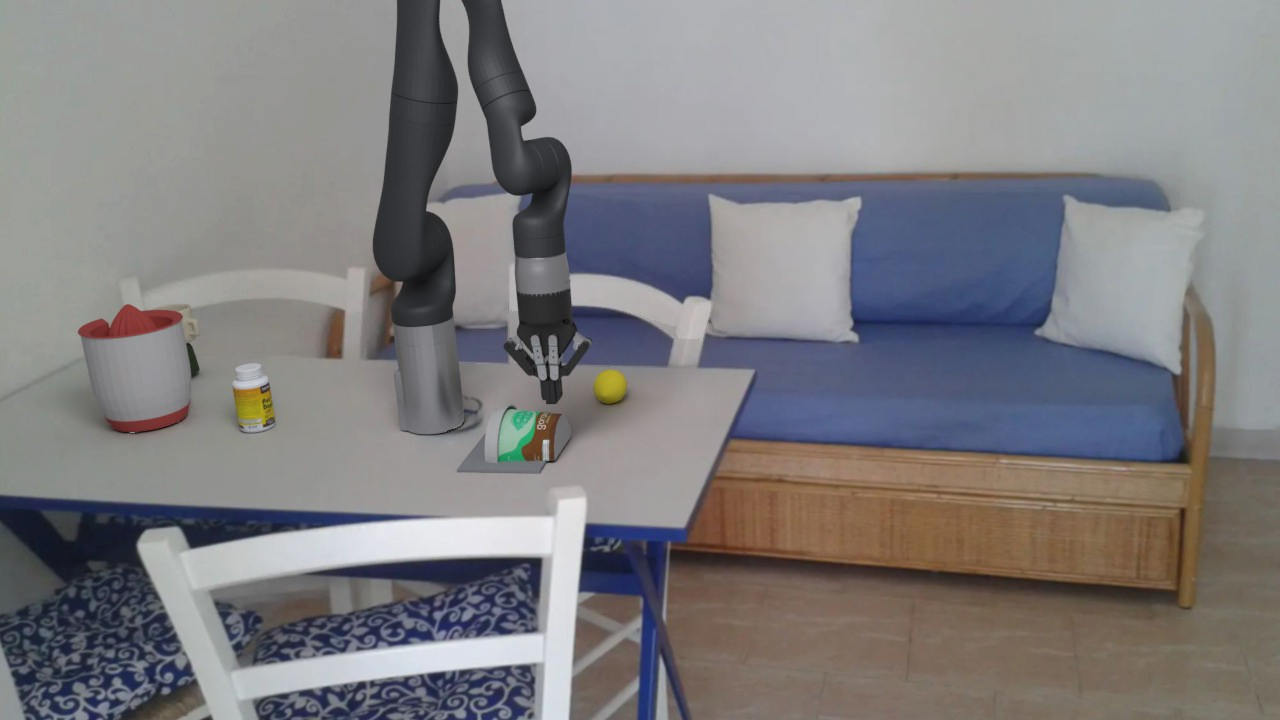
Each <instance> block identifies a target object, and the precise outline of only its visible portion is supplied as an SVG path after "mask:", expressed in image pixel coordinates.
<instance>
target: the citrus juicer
mask: <svg viewBox="0 0 1280 720" xmlns="http://www.w3.org/2000/svg"><path fill="white" fill-rule="evenodd" d="M182 319H183V316H182V314H181V313H179V312H176V311H171V310H152V309H148V310H146V309H145V310H140V309H138V308H137V307H135V306H133V304H129V303H126V304H125V305H123V306H122V307H121V309H120V310H119V311H118V312H117V314H116V315H115V317H114V318H113V320H112V322H111V324H109V322H108V321H107V320H105V319H103V318H98V319H95V320H93V321H90V322H87V323H85V324H83V325H82V326H81V327H79V329H78V331H77V334H78V335H79V336H80V339H81V344H82V348H83V349H82V350H83V354H84V357H85V358H84V359H85V363H86V368H87V373H88V376H89V381H90V386H91V389H92V392H93V395H94V396H95V397H94V398H95V399H96V401H97V403H98V407H99V408H100V409H101V411H102V413H103V415H104V418H105V419H106V421H107V423H108V424H109V425H110V426H111V428H112V429H113V430H116V431H118V432H122V433H124V432H126V433H129V432H138V433H140V432H139V431H141V432H147V431H154V430H157V429H161V428H164V427H168V426H171V425H173V424H177V423H176V422H178V421H180V422H181V420H182V421H183V420H184V419H185V418H186V417H187V415H188V412H189V410H190V405H191V394H192V376H191V369H190V362H189V357H188V351H187V346H186V340H185V335H184V330H183V324H182ZM178 423H179V422H178Z"/></svg>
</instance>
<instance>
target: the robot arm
mask: <svg viewBox="0 0 1280 720" xmlns="http://www.w3.org/2000/svg"><path fill="white" fill-rule="evenodd" d="M460 1H461V3H462V5H463V7H464V8H465V12H466V16H467V21H468V43H467V44H468V46H467V70H468V76H469V80H470V83H471V86H472V89H473V90H474V93H475V96H476V98H477V101H478V103H479V105H480V106H479V107H480V108H481V111H482V114H483V116H484V118H485V122H486V127H487V129H486V130H487V137H488V142H489V149H490V150H489V151H490V160H491V167H492V171H493V175H494V177H495V179H496V182H497V183H498V184H499V185H500V187H501V188H502V189H503V190H504V191H505V192H506V193H509V195H512V196H514V197H515V196H526V195H527V196H528V195H531V194H532V195H531V198H530V199H531V200H530V203H529V204H528V205H527V207H525V208H524V209H522V210H521V211H519V212H518V213H516V214H514V216H513V219H512V225H511V226H512V238H513V240H512V241H513V251H514V279H515V280H514V281H515V282H514V283H515V290H516V291H515V292H516V302H517V304H516V305H517V313H518V326H517V328H516V334H515V335H513V336H512V337H510V338H508V339H507V340H506V342H504V343H503V345H502V346H503V347H502V348H503V349H504V350H505V352H506V353H508V355H509V356H510V357H511V358H512V360H513V361H515V363H516V364H517V365H518V366H519V367H520V368H521V370H522V371H523V372H524V373H525V374H526V375H527V376H529V377H532V376H533V377H536V378H538V381H539V386H540V395H541V400H542V401H545V404H546V405H558V403H559V401H561V400H562V397H563V394H564V393H563V380H562V378H563V377H568V376H570V375H571V373H572V372H573V371H574V369H575V368H576V366H578V364H579V362H580V361H581V360H582V359H583V357H584V356H585V354H586V353H587V352H588V350H589V349H590V347H591V346H592V344H593V339H592V338H591V337H585V336H583V335H582V334H581V333H579V332H578V327H577V325H576V324H575V322H574V319H573V318H574V317H573V304H572V291H571V290H572V289H571V275H570V267H569V262H568V258H567V251H566V237H565V226H564V225H565V224H564V223H565V217H566V211H567V207H568V201H569V200H568V199H569V195H570V189H571V181H572V174H573V173H572V171H573V169H572V160H571V156H570V153H569V151H568V150H567V148H566V146H565V145H564V143H562V141H560V140H559V139H558V138H555V137H553V136H544V137H538V138H533V139H532V138H531V139H525V140H524V138H523V133H522V127H523V126H525V125H527V124H528V123H530V122H531V121H532V120H533V119H534V118H535V117H536V115H537V105H536V102H535V99H534V96H533V94H532V92H531V88H530V87H529V84H528V83H529V82H528V81H527V78H526V75H525V74H524V72H523V71H524V70H523V69H522V66H521V64H520V62H519V59H518V56H517V54H516V51H515V49H514V44H513V42H512V38H511V35H510V31H509V28H508V27H509V26H508V25H507V24H508V23H507V20H506V16H505V11H504V6H503V3H502V0H460ZM440 10H441V0H396V33H395V47H394V49H395V50H394V61H393V62H394V63H393V64H394V65H393V74H392V81H391V89H390V91H391V92H390V100H389V101H390V102H389V113H388V132H387V133H388V135H387V145H386V152H385V161H384V162H385V163H384V173H383V182H382V187H381V188H382V189H381V193H380V199H379V204H378V209H377V215H376V219H375V225H374V229H373V234H372V235H373V236H372V255H373V259H374V263H375V264H376V266H377V269H378V271H380V272H381V274H382V275H383V276H384V277H385V278H387V279H388V280H390V281H393V282H395V283H396V282H398V283H401V287H400V290H399V292H398V294H397V295H396V297H395V298H394V300H393V301H392V303H391V305H390V315H391V322H392V328H393V329H392V330H393V336H394V345H395V352H396V353H395V354H396V360H397V367H398V368H397V369H396V370H395V371H394V372H393V376H394V377H393V380H394V385H395V386H394V387H395V393H396V401H397V402H396V403H397V409H398V416H399V426H400V431H407V432H409V433H413V434H417V435H436V434H442V433H447V430H450V429H453V428H454V427H456V426H458V425H460V424H461V423H463V421H464V419H465V418H464V417H465V407H464V400H463V391H462V383H461V382H462V381H461V371H460V364H459V363H460V361H459V355H458V354H459V353H458V348H457V347H458V345H457V343H458V342H457V337H456V336H457V335H456V328H455V327H456V326H455V317H454V309H453V308H454V303H455V299H456V293H457V283H456V268H455V267H456V266H455V252H454V251H455V250H454V243H453V239H452V235H451V232H450V229H449V228H448V226H447V224H446V222H445V221H444V220H443V218H441V217H440V216H439V215H438V214H436V213H434V212H431V211H427V206H428V202H429V201H428V199H429V196H430V190H431V188H432V185H433V182H434V180H435V177H436V175H437V174H438V171H439V168H440V167H441V165H442V162H443V161H444V158H445V156H446V154H447V152H448V149H449V147H450V144H451V141H452V138H453V135H454V131H455V125H456V120H457V119H456V118H457V111H458V109H457V108H458V98H459V83H458V78H457V75H456V74H457V73H456V71H455V69H454V66H453V63H452V61H451V58H450V56H449V55H450V54H449V53H448V51H447V48H446V46H445V42H444V39H443V35H442V31H441V25H440V24H441V23H440V16H441V15H440V14H441V13H440ZM572 341H573V344H572V345H573V346H572V348H573V350H574V351H575V352H574V353H573V355H572V356H571V357H570V359H569V360H568V362H567V363H566V364H563V359H564V353H565V351H566V350H567V348H569V346H570V344H571V343H572ZM524 345H525V347H526V348H527V349H528V350H529V352H531V354H532V355H533V357H534V359H533V358H532V356H531V355H530V354H529V353H528V352H527V351H526V350H525V349H524ZM465 420H466V419H465Z"/></svg>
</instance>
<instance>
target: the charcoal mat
mask: <svg viewBox="0 0 1280 720" xmlns="http://www.w3.org/2000/svg"><path fill="white" fill-rule="evenodd" d="M485 436H486V432H485V433H484V434H483V435H482V437H481V438H480V439H479V441H477V443H476V444H475V446H474V447H473V448H472V449H471V450H470V452H469V453H468V455H467V456H466V457H465V458H464V459H463V460H462V462H461V463H460V464H459V465H458V467H457V468H456V472H457V473H499V474H500V473H506V474H507V473H508V474H509V473H510V474H513V473H514V474H541V472H542V471H543V469H544V467H545V466H546V465H547V462H548V461H502V462H498V463H490V462H485Z"/></svg>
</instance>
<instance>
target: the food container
mask: <svg viewBox="0 0 1280 720" xmlns="http://www.w3.org/2000/svg"><path fill="white" fill-rule="evenodd" d="M486 426H487V427H486V429H485V430H486V431H485V433H486V436H485V462H490V463H498V462H502V461H547V462H554V461H556V459H557V458H558V457H559V455H560V454H561V452H562V450H563V449H564V447H565V446H566V444H567V443H568V442H569V440H570V438H571V437H572V431H571V424H570V421H569V418H568V416H567V415H566V413H557V412H556V413H555V412H545V411H533V410H526V409H525V410H524V409H523V410H522V409H518V408H517V407H516V406H515V405H514V404H509V405H503V406H500V407H499V408H495V409H494V410H493V412H492V413H491V415H490V417H489V419H488V422H487V425H486Z"/></svg>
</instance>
